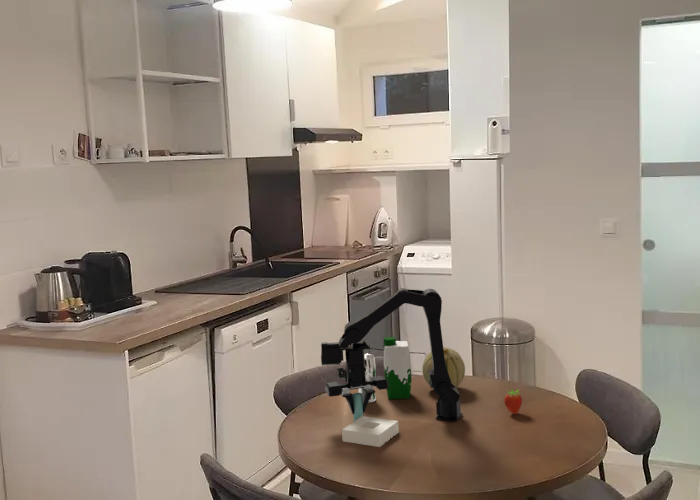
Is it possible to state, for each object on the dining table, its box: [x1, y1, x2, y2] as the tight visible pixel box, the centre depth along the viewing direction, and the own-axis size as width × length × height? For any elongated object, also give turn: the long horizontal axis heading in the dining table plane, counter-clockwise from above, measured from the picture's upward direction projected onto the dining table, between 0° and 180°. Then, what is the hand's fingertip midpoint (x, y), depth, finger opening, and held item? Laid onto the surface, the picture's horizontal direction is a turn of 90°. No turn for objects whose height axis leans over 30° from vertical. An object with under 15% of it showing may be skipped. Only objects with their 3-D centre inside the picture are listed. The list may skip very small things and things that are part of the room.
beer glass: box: [357, 353, 377, 404], centre depth 247 cm, size 7×7×15 cm
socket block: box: [341, 415, 400, 448], centre depth 215 cm, size 12×12×4 cm
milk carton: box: [382, 336, 412, 400], centre depth 250 cm, size 9×9×20 cm
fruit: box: [503, 389, 523, 415], centre depth 227 cm, size 5×5×8 cm
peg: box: [351, 392, 364, 422], centre depth 226 cm, size 3×3×9 cm
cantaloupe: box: [422, 346, 466, 388], centre depth 254 cm, size 15×15×15 cm
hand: (358, 413), depth 227 cm, fingers closed on peg, 3 cm apart
